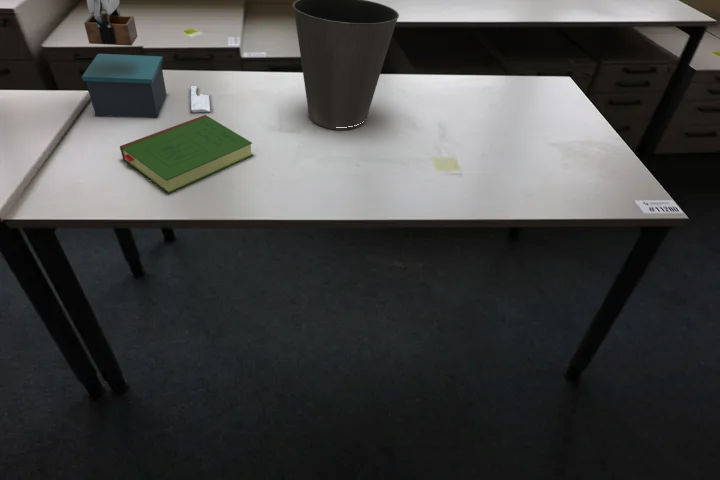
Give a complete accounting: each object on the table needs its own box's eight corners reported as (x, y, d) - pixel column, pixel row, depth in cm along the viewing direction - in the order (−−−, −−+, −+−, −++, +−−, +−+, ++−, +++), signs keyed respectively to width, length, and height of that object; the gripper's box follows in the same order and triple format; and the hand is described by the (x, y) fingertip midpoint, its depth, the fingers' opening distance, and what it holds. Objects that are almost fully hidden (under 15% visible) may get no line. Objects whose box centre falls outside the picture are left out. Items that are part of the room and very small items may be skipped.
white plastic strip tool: (208, 88, 156) (208, 85, 155) (210, 112, 145) (209, 108, 144) (191, 88, 154) (190, 85, 154) (191, 112, 144) (190, 109, 143)
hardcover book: (206, 127, 139) (205, 114, 136) (252, 155, 130) (252, 142, 128) (120, 160, 123) (116, 147, 121) (165, 195, 115) (162, 181, 113)
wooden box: (89, 43, 127) (83, 22, 124) (96, 34, 132) (91, 13, 129) (131, 45, 128) (127, 25, 125) (137, 36, 133) (133, 16, 130)
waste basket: (381, 102, 159) (394, 0, 139) (388, 136, 144) (404, 26, 124) (293, 97, 156) (294, -8, 137) (290, 131, 141) (290, 18, 121)
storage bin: (92, 116, 138) (81, 76, 130) (107, 91, 149) (98, 53, 142) (158, 118, 140) (151, 79, 133) (168, 93, 151) (162, 56, 144)
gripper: (89, -51, 124) (107, 25, 136) (65, -32, 111) (87, 50, 123) (122, -49, 125) (136, 26, 137) (102, -30, 112) (120, 51, 124)
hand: (113, 37), depth 130 cm, fingers closed on wooden box, 6 cm apart
